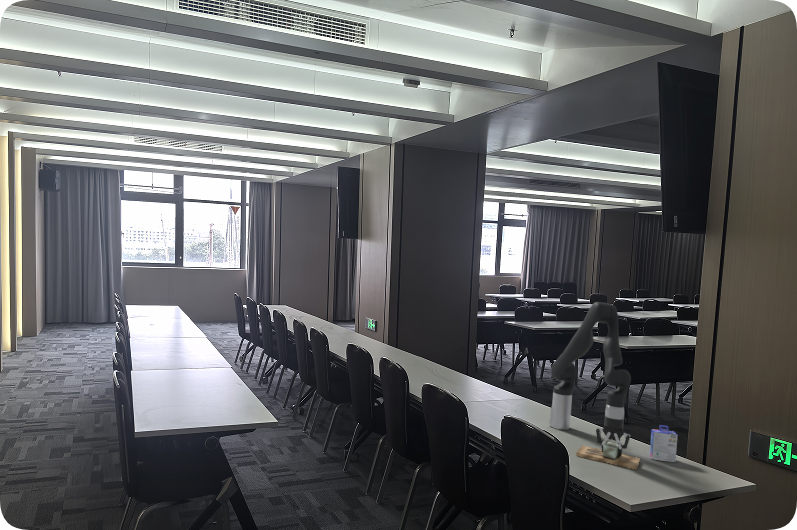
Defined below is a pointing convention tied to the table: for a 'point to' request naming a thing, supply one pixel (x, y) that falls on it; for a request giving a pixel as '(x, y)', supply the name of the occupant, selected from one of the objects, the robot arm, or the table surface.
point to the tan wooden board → (598, 456)
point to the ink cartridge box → (663, 444)
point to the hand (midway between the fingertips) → (611, 455)
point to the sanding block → (610, 450)
